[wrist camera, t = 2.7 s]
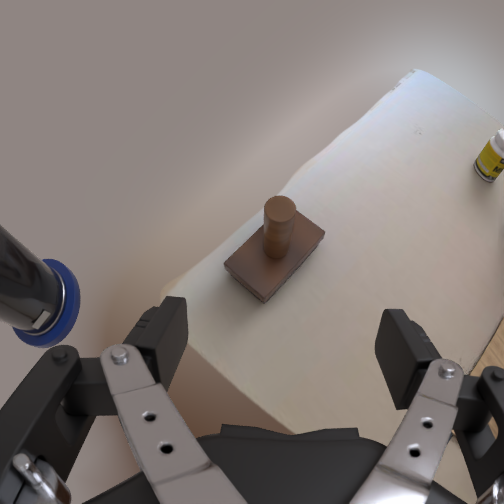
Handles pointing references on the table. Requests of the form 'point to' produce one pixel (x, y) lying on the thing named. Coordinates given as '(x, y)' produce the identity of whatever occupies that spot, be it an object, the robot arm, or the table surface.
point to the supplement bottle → (491, 158)
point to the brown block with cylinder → (274, 248)
